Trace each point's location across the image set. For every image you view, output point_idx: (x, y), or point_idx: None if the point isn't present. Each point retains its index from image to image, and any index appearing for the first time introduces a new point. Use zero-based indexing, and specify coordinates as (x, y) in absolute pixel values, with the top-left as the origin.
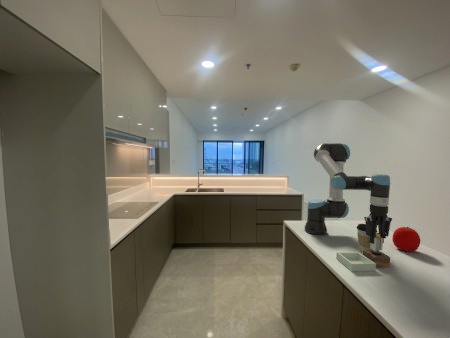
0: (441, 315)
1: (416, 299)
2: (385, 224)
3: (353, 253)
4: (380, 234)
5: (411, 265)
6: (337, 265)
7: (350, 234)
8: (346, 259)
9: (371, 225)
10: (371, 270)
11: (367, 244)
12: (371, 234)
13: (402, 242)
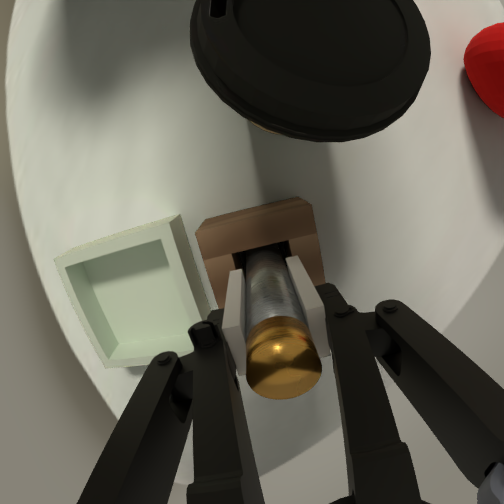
0: (278, 462)
1: (263, 440)
2: (454, 423)
3: (137, 243)
4: (309, 387)
5: (427, 241)
6: (73, 311)
7: None
8: (87, 333)
9: (197, 456)
10: None
11: (274, 132)
12: (192, 410)
13: (500, 96)
